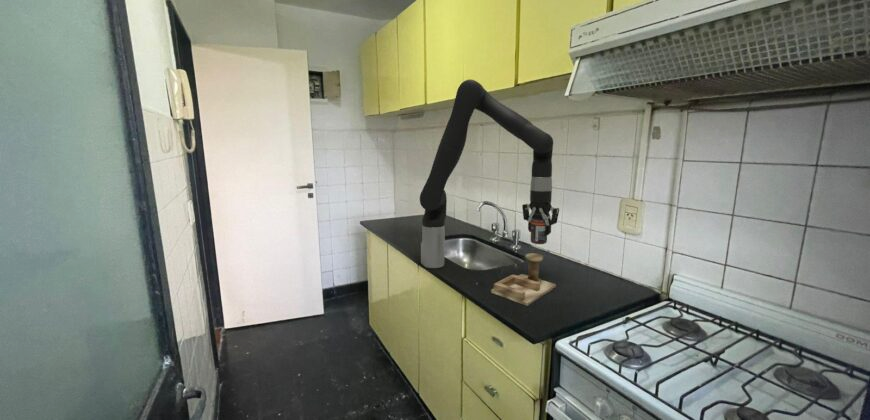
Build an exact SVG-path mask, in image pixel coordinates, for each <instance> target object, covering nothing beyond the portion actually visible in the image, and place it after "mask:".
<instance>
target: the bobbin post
mask: <svg viewBox="0 0 870 420" xmlns="http://www.w3.org/2000/svg"><path fill="white" fill-rule="evenodd" d="M525 259H526V260H527V261H528V266H527V268H528V270H527V272H528V273H527V276H528V277H525V278H526V279H530V280H533V281H536V282H539V283H540V284H541V280H542V279H541V278H540V277H539V272H540V271H539V270H540V269H539V268H540V262H542V261H543V259H544V255H542V254H539V253H533V252H530V253H527V254H525Z"/></svg>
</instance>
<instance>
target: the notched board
mask: <svg viewBox="0 0 870 420" xmlns="http://www.w3.org/2000/svg"><path fill="white" fill-rule="evenodd" d="M525 277H528V274H524V273H521V274H519V275H517V274H514V273H513V274H510V275H508V276H506V277H504V278H503V279H501V280H499V281H497V282H495V283H493V288H491V289H490V293H491V294H493V295H497V296H499V297H502V298H504V299H507V300H510V301H513V302H515V303H518V304H521V305H523V306H525V307H526V306H527V307H528V306H529V305H531V304H532V303H534V302H535V301H537V300H539V299H540V298H542V297H543V296H544V295H546V294H547V293H549V292H551V290H554V289H555V288H556V287H557V284H556V283H553V282H550V281H546V280H544V279H543V280H542V279H541V284H540V283H539V282H536V281H533V280H530V279H526V278H525ZM553 288H554V289H553Z"/></svg>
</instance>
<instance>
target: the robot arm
mask: <svg viewBox="0 0 870 420" xmlns="http://www.w3.org/2000/svg"><path fill="white" fill-rule="evenodd" d="M451 110H452V111H451V113H450V117H449V120H448V121H447V123H446V127H445V129H444V131H443V134H442V136H441V139H440V141H439V144H438V148H437V151H436V154H435V157H434V159H433V162H432V166H431V170H430V172H429V175H428V177H427V180H426V181H425V184H424V186H423V188H422V190H421V192H420V195H419V204H420V205H421V207H422V208H423V210H424V214H423V216H422V219H421V225H422V232H421V233H422V234H421V235H422V241H421V242H420V264H421V265H422V266H423V267H425V268H427V269H428V268H429V269H439V268H442V267H444V266H445V247H446V246H445V244H446V243H445V242H446V240H445V239H446V237H445V236H446V234H445V232H446V231H445V230H446V229H445V228H446V226H445V225H446V224H445V223H446V222H445V221H446V218H447V205H448V204H447V202H448V201H447V200H448V199H447V192H446V191H445V188H446V184H447V181H448V180H449V178H450V177H451V175H452V173H453V171H455V168H456V166H457V165H458V163H459V161H460V158H461V156H462V153H463V152H464V148H465V145H466V142H467V134H468V129H469V124H470V120H471V117H472V116H473V113H474V111H475V110H477V111H479V112H481V113H483V114H485V115H486V116H488V117H489V118H491V119H492V120H493V121H494V122H495V123H497V124H498V125H499V126H500V127H502V128H503V129H504V130H506V131H507V132H508V133H510V134H511V135H512V136H514V137H516V139H519V140H520V141H522V142H523V143H525V144H526V145H527V146H528V147H530V149H532V153H533V154H532V163H531V176H530V177H531V178H530V189H529V201H530V202H529V203H525V204H524V203H523V204H522V205H521V206H522V214H523V215H522V217H523V218H522V219H523V220H524V221H527V228H528V231H529V233H531V220H532V219H533V218H534V213H537V214H541V215H542V217H543V220H545V223H546V226H545V235H547V236H549V235H550V234H551V233H552V225H555V224H557V222H558V218H559V215H560V214H559V212H560V208H559V207H553V206H552V195H553V194H552V193H553V180H552V176H553V174H552V173H553V162H552V159H553V152H554V151H553V148H554V139H553V137H552V135H551V134H549V133H547V132H545V131H544V130H542V129H541V128H539V127H537V126H535V125H534V124H533V123H532V122H531V121H529V120H528V119H527V118H526V117H525V116H522V115H521V114H519V113H518V112H516V111H515V110H513V109H511V108H510V107H507V106H506V105H505V104H503V103H502V102H500V101H499V100H497V99H496V98H495V97H493V96H492V95H491V94H490V93H489V92H488V91H487V89H485V88H484V87H483V85H482V84H481V83H480V82H478V81H476V80H474V79H471V78H470V79H466V80H464V81H462V82H461V84H460V85H459V86H458V88H457V90H456V95H455V99H454V102H453V106H452V109H451ZM530 211H531V212H530ZM550 212H551V214H550Z"/></svg>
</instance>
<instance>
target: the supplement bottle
mask: <svg viewBox="0 0 870 420" xmlns="http://www.w3.org/2000/svg"><path fill="white" fill-rule="evenodd" d="M545 226H546V223H545V220H543V217H542V215H541V214H537V213H534V218H533V219H532V220H531V232H530V242H531V243H532V244H535V245H544V244H546V243H547V242H548V235H545Z"/></svg>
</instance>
